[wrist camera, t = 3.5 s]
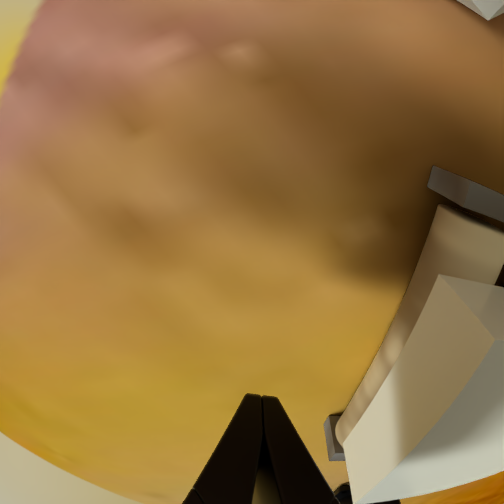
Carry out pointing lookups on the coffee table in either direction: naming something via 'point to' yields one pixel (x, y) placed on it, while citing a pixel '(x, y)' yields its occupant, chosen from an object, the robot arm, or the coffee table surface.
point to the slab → (436, 401)
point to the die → (485, 7)
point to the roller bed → (432, 282)
